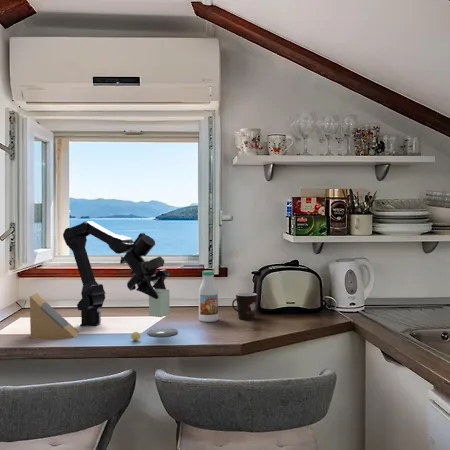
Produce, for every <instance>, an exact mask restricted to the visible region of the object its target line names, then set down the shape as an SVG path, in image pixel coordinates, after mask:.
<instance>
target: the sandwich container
mask: <svg viewBox="0 0 450 450" xmlns="http://www.w3.org/2000/svg"><path fill="white" fill-rule="evenodd" d="M29 318H30V319H29V322H30V325H29V326H30V328H29V329H30V339H31V338H43V339H65V338H71V337H72V338H76V337H77V336H78V335H79V334H80V332H79V330H77V328H75V327H74V326H73V324H71V323H69V322H68V320H66V319H65V318H64V317H63V316H62V315H61V314H60V313H59V312H58V311H56V309H54V308H53V307H52V306H51V305H50V304H49V303H48V302H47V301H46V300H45V299H44V298H43V297H41V296H40V294H39V293H37V292H36V293H35V294H32V295H31V296H29Z"/></svg>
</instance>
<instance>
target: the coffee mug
mask: <svg viewBox="0 0 450 450" xmlns="http://www.w3.org/2000/svg"><path fill="white" fill-rule="evenodd" d="M235 297H236V298H234V299H233V301H231V302H232V303H231V306H232V308H233V309H234V311H235V312H237V314H238V320H240V321H253V320H255V317H256V315H255V314H256V307H257V306H256V305H257V297H258V294H257V293H255V292H237V293H236V294H235ZM235 302H236V306H237V307H235V305H234V303H235Z"/></svg>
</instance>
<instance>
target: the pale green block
mask: <svg viewBox="0 0 450 450" xmlns="http://www.w3.org/2000/svg"><path fill="white" fill-rule="evenodd" d="M153 289H154V290H155V292H156V293H157V295H158V299H155V298H153V297H151V296H149V295H148V314H149V315H148V316H149V317H156V318H157V317H158V318H163V317H165V316H169V315H170V314H171V313H170V311H171V310H170V289H167V288H166V289H155V288H153Z"/></svg>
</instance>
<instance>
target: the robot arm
mask: <svg viewBox="0 0 450 450" xmlns="http://www.w3.org/2000/svg"><path fill="white" fill-rule="evenodd" d="M88 236H93V237H95V238H96V239H98V240H100V241H101V242H103V243H106V244H107V245H108V247H109V249H110V250H111V251H112V252H113V253H115V254H117V255H118V254H119V255H120V254H121V255H122V254H124V255H123V256H120V262H119V264H120V265H122V264H126V265H127V266H128V267H129V269H130V270H131V272H130V274H131V275H132V276H131V278H130V279H129V280H128V281H127V283H126V287H127V288H128V289H129V291H134V290H136V291H137V292H140V293H143V294H145V295H148V297H149V296H151V297H153V298H155V299H158V295H157V293H156V292H155V290H154V289H167V287H166V284H165V280H166V279H167V278H168V277H169V276H170V272H169V271H168V269H160V268H162V267H164V264H165V259H164V258H163V257H162V256H157V257H155V258H152V259H150V260H147V261H145V259H144V258H143V257H146V256H148V254H149V252H150V251H151V250H153V248H154V247H155V245H156V241H155V239H154V238H152V237H151V236H150V235H147V234H146V233H145V232H140V233H139V234H138V236H137V238H135V240H133V238H132V237H128V236H125V235H119V234H116V233H114V232H112V231H111V230H108V229H106V228H104V227H103V226H101V225H99V224H98V223H96V222H94V221H90V220H89V221H84V222H81V223H79V224H77V225H74V226H71V227H67V228H65V230H64V231H63V233H62V237H63V240H64V242H65V244H66V246H67V247H68V248H69V249H70V250H71V251H72V253H73V257H74V260H75V265H76V267H77V269H78V272H79V273H78V274H79V277H80V279H81V283H82V289H81V292H80V295H81V299H80V300H79V301H78V303H77V304H76V306H77V310H78V311H80V314H81V316H80V317H81V318H80V319H81V321H80V322H81V323H80V327H96V326H99V324H100V323H101V322H102V321H101V320H102V319H101V316H102V315H101V311H100V308H103V305H104V302H105V299H106V291H105V289H104V285H103V283H98V281H96V279H95V275H94V272H93V269H92V265H91V262H90V258H89V255H88V253H87V250H86V245H87V241H88V240H87V237H88ZM157 270H158V271H157ZM152 284H153V285H152ZM136 285H137V286H136Z"/></svg>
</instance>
